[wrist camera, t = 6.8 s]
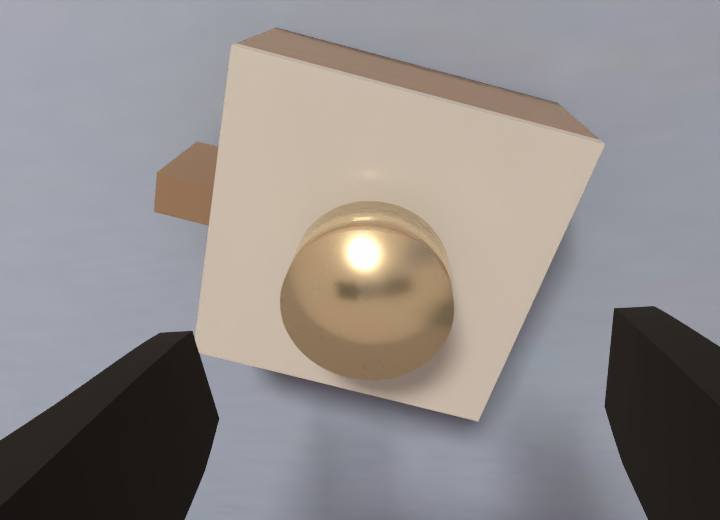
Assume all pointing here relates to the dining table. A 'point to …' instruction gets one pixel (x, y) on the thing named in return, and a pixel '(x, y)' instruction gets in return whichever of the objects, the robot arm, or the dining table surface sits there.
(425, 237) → the plunger
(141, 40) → the dining table surface
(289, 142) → the tan box
